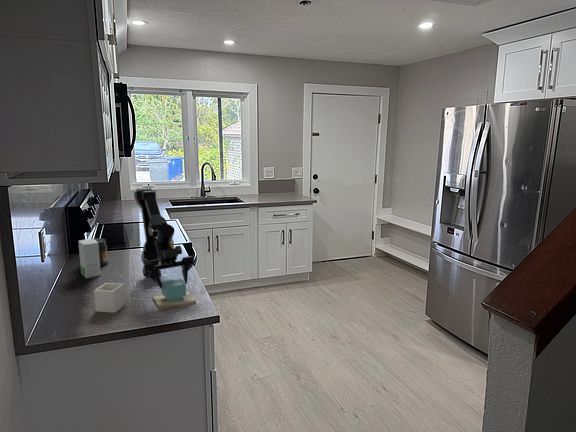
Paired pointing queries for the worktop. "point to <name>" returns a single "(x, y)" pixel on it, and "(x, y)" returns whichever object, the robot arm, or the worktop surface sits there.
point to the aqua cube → (173, 289)
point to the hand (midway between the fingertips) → (174, 285)
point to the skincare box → (89, 258)
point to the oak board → (166, 305)
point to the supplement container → (102, 251)
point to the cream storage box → (109, 297)
